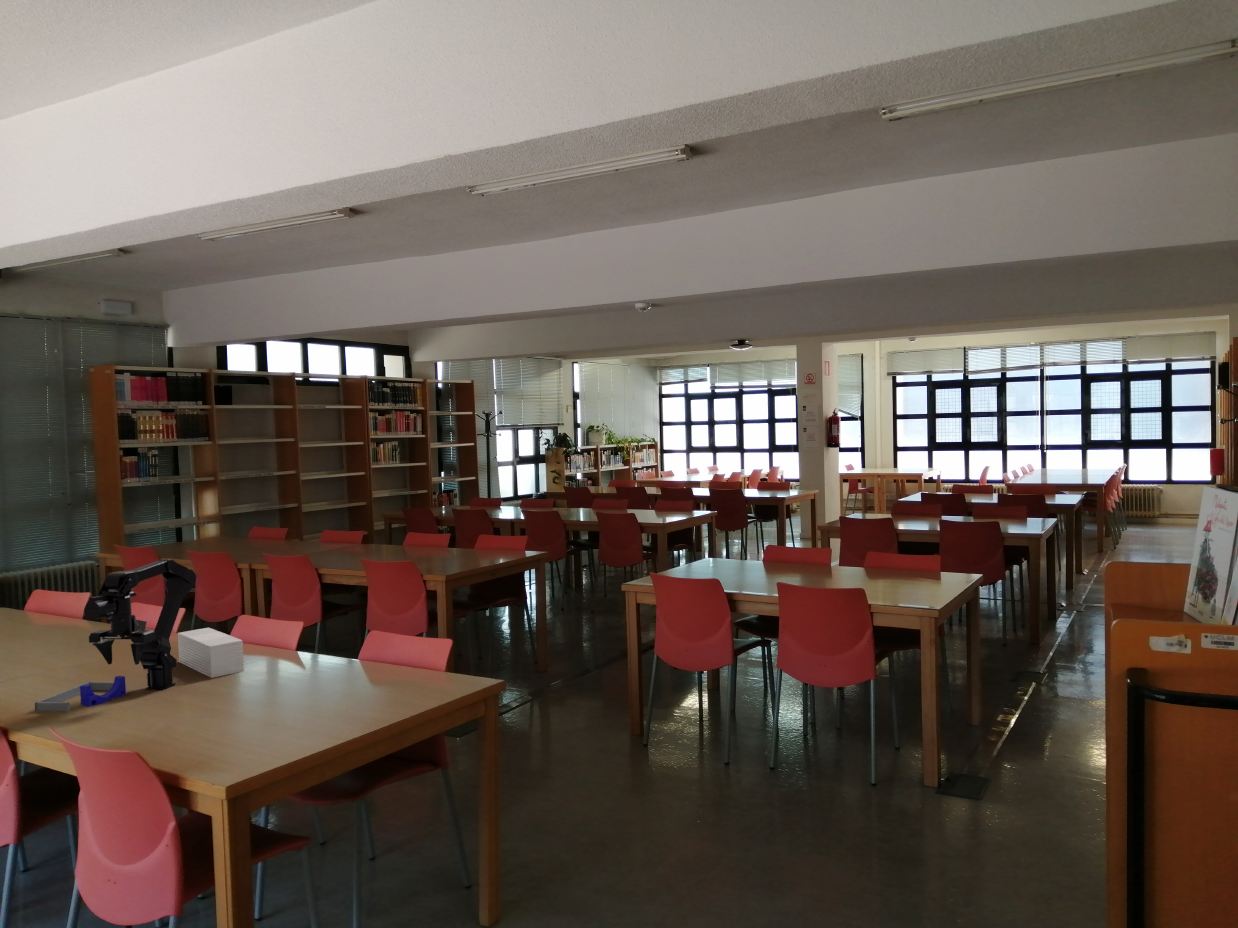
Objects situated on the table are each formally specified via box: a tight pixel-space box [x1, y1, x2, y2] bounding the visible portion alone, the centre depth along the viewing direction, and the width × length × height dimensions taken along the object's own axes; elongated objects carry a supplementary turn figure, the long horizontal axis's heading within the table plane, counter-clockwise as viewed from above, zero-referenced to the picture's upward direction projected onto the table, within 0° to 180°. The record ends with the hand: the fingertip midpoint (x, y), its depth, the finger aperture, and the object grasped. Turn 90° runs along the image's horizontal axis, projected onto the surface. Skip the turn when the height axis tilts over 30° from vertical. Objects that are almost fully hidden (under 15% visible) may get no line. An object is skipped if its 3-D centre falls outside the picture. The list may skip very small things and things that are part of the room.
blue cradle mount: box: [79, 675, 127, 707], centre depth 268 cm, size 12×4×6 cm, turn 150°
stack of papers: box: [177, 627, 245, 678], centre depth 305 cm, size 32×11×11 cm, turn 44°
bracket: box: [34, 681, 114, 713], centre depth 269 cm, size 11×22×2 cm, turn 172°
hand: (123, 664), depth 267 cm, fingers open, 9 cm apart
